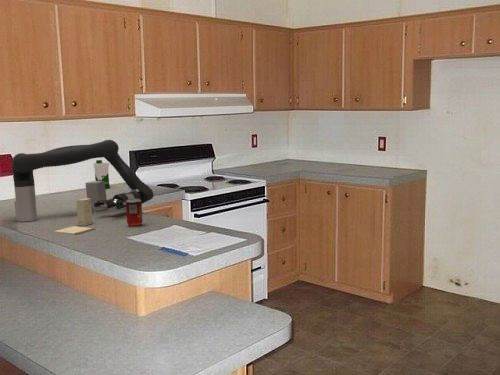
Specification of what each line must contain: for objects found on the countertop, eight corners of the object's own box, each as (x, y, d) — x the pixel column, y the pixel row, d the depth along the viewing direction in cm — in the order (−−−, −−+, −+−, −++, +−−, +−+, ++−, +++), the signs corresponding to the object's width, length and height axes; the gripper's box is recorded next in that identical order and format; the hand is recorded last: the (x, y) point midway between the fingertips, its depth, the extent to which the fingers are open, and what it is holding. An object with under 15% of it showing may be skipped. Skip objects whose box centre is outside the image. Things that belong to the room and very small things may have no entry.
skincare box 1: (86, 226, 245) (84, 200, 243) (77, 225, 246) (75, 200, 244) (92, 223, 251) (91, 198, 249) (84, 223, 252) (82, 197, 250)
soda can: (143, 226, 241) (142, 199, 239) (127, 227, 239) (126, 201, 237) (142, 223, 248) (140, 197, 246) (126, 224, 246) (125, 198, 244)
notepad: (54, 232, 233) (54, 230, 233) (73, 227, 243) (73, 226, 243) (77, 234, 227) (77, 233, 227) (95, 229, 237) (95, 228, 237)
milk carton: (103, 187, 376) (101, 159, 374) (112, 188, 371) (110, 160, 369) (93, 189, 369) (91, 160, 366) (102, 189, 364) (100, 161, 361)
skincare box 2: (108, 209, 287) (106, 180, 285) (99, 211, 281) (97, 182, 278) (95, 208, 291) (94, 180, 288) (86, 210, 284) (84, 181, 282)
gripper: (112, 192, 274) (89, 197, 260) (133, 193, 267) (111, 198, 253) (113, 206, 275) (90, 212, 261) (134, 208, 268) (112, 214, 254)
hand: (101, 205), depth 257 cm, fingers open, 8 cm apart
